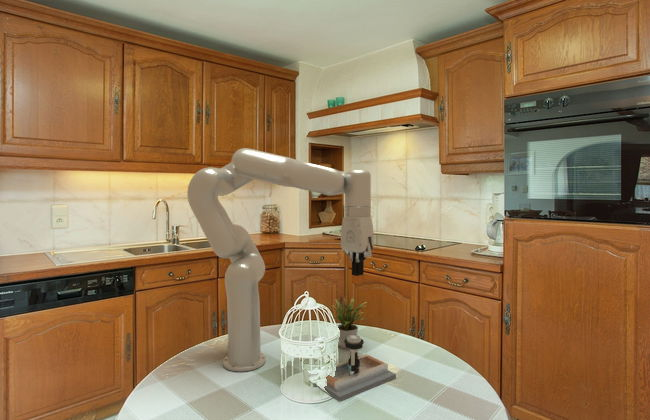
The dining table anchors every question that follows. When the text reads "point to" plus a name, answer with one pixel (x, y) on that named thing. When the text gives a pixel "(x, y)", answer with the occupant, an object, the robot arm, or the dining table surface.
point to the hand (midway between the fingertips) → (357, 274)
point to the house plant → (347, 320)
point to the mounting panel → (361, 386)
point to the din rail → (367, 371)
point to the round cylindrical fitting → (353, 353)
